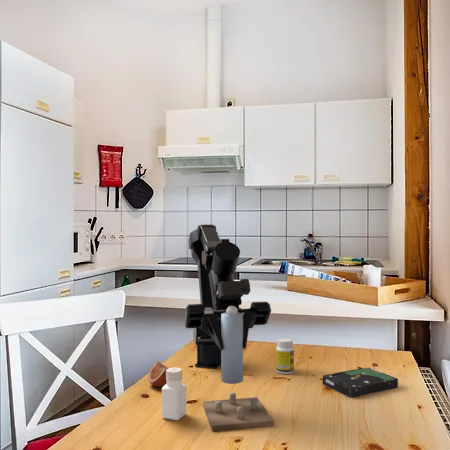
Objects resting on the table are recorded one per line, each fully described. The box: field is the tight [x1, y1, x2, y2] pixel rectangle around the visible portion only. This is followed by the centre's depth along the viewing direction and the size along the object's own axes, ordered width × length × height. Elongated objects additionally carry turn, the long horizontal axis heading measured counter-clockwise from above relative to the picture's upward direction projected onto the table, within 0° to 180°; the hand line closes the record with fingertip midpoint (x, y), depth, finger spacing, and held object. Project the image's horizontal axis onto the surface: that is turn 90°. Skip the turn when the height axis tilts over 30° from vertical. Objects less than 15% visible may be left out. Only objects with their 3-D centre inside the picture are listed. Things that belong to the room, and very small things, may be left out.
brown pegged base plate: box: [202, 392, 274, 432], centre depth 93 cm, size 12×12×3 cm
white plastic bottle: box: [161, 366, 187, 421], centre depth 93 cm, size 4×4×10 cm
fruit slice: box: [147, 360, 170, 388], centre depth 111 cm, size 8×7×5 cm
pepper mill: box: [220, 306, 244, 385], centre depth 97 cm, size 5×5×16 cm
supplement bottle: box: [275, 337, 295, 375], centre depth 121 cm, size 5×5×8 cm
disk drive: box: [322, 367, 399, 399], centre depth 110 cm, size 10×3×15 cm
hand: (233, 348), depth 96 cm, fingers closed on pepper mill, 5 cm apart
